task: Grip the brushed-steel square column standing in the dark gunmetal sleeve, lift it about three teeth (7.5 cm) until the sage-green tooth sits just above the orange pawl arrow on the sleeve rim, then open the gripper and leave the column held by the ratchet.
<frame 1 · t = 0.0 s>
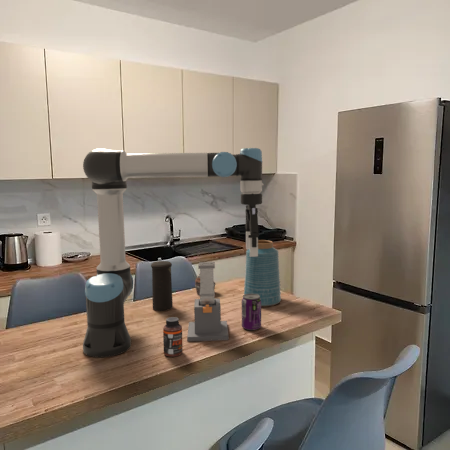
hand: (251, 252, 145), 28 cm above the counter, fingers open, 13 cm apart
supplement bottle: (173, 354, 128), on the counter
beverage can: (251, 328, 148), on the counter
container: (162, 308, 171), on the counter
column: (207, 295, 143), point 13 cm above the counter, slide at 0.0 cm
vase: (262, 302, 178), on the counter
stand: (207, 332, 144), on the counter
cupcake: (205, 294, 191), on the counter
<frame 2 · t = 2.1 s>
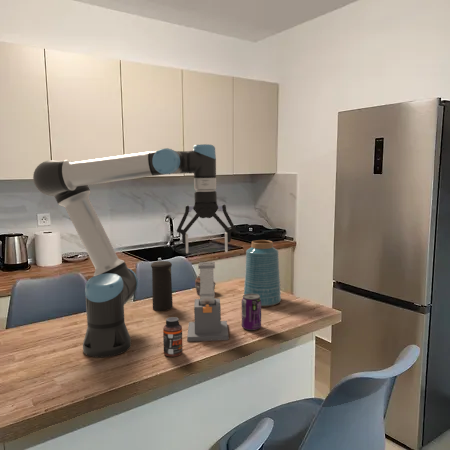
hand: (206, 252, 141), 29 cm above the counter, fingers open, 13 cm apart
nothing on the counter moved.
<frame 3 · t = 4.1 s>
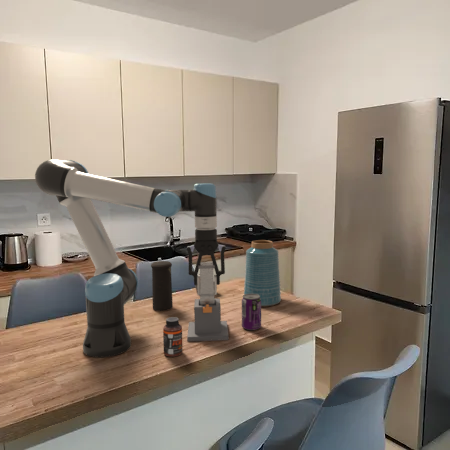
hand: (207, 293, 142), 14 cm above the counter, fingers closed on column, 5 cm apart
column: (207, 295, 143), point 13 cm above the counter, slide at 0.0 cm, touching gripper
everything else where it was.
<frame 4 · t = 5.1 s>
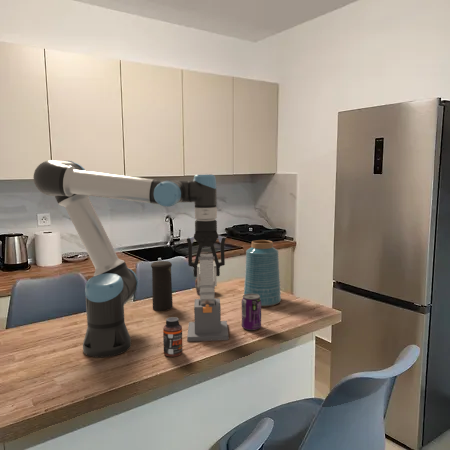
hand: (206, 285, 142), 17 cm above the counter, fingers closed on column, 5 cm apart
column: (207, 287, 142), point 17 cm above the counter, slide at 3.1 cm, touching gripper
everything else where it was.
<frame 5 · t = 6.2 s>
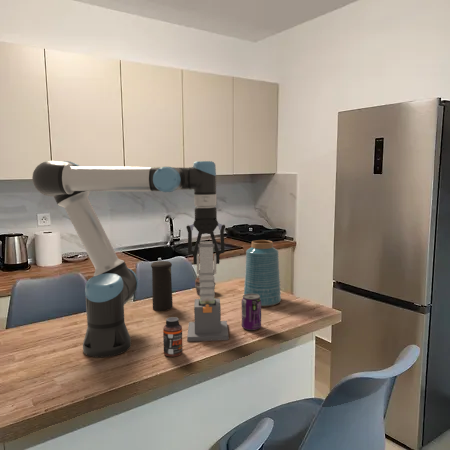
hand: (206, 273, 142), 22 cm above the counter, fingers closed on column, 5 cm apart
column: (206, 275, 142), point 21 cm above the counter, slide at 7.5 cm, touching gripper
everything else where it was.
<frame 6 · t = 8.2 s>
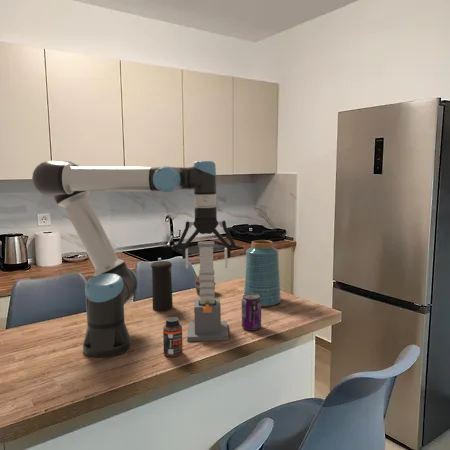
hand: (206, 267, 141), 24 cm above the counter, fingers open, 13 cm apart
column: (206, 275, 142), point 21 cm above the counter, slide at 7.5 cm
everything else where it was.
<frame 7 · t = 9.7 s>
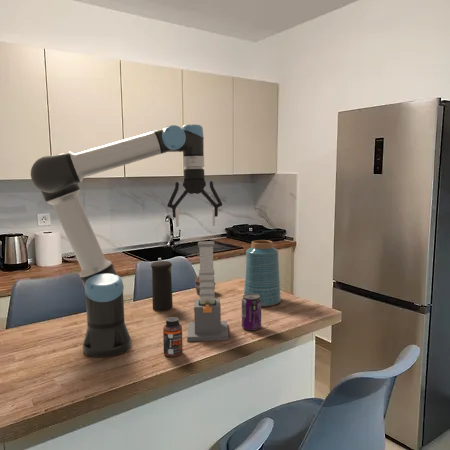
hand: (195, 225, 151), 37 cm above the counter, fingers open, 13 cm apart
nothing on the counter moved.
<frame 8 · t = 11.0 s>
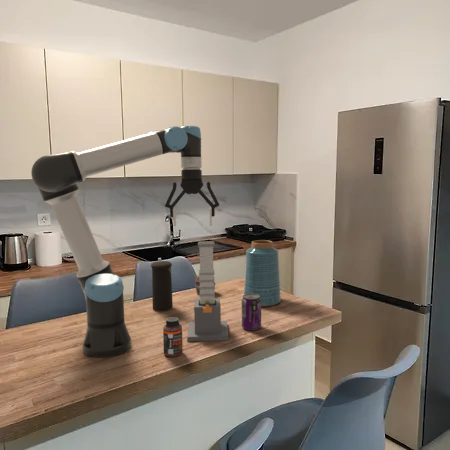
hand: (192, 225, 153), 37 cm above the counter, fingers open, 13 cm apart
nothing on the counter moved.
at the end: column slide at 7.5 cm; the gripper is holding nothing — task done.
